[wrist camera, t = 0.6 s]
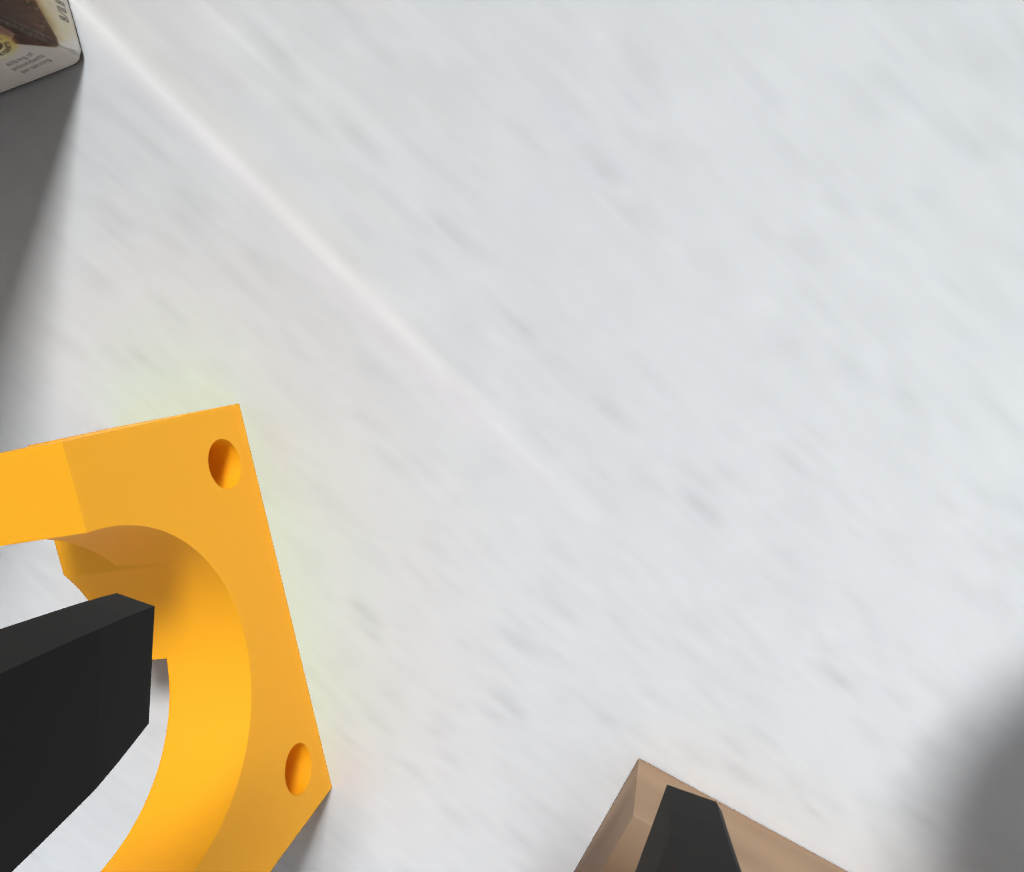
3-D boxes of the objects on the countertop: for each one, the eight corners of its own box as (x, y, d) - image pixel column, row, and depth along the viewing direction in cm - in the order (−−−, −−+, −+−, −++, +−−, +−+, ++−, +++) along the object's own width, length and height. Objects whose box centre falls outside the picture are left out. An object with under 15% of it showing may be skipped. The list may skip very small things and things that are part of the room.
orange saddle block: (118, 426, 22) (-99, 472, 16) (242, 402, 21) (61, 441, 15) (214, 789, 24) (49, 957, 18) (334, 784, 23) (204, 961, 17)
